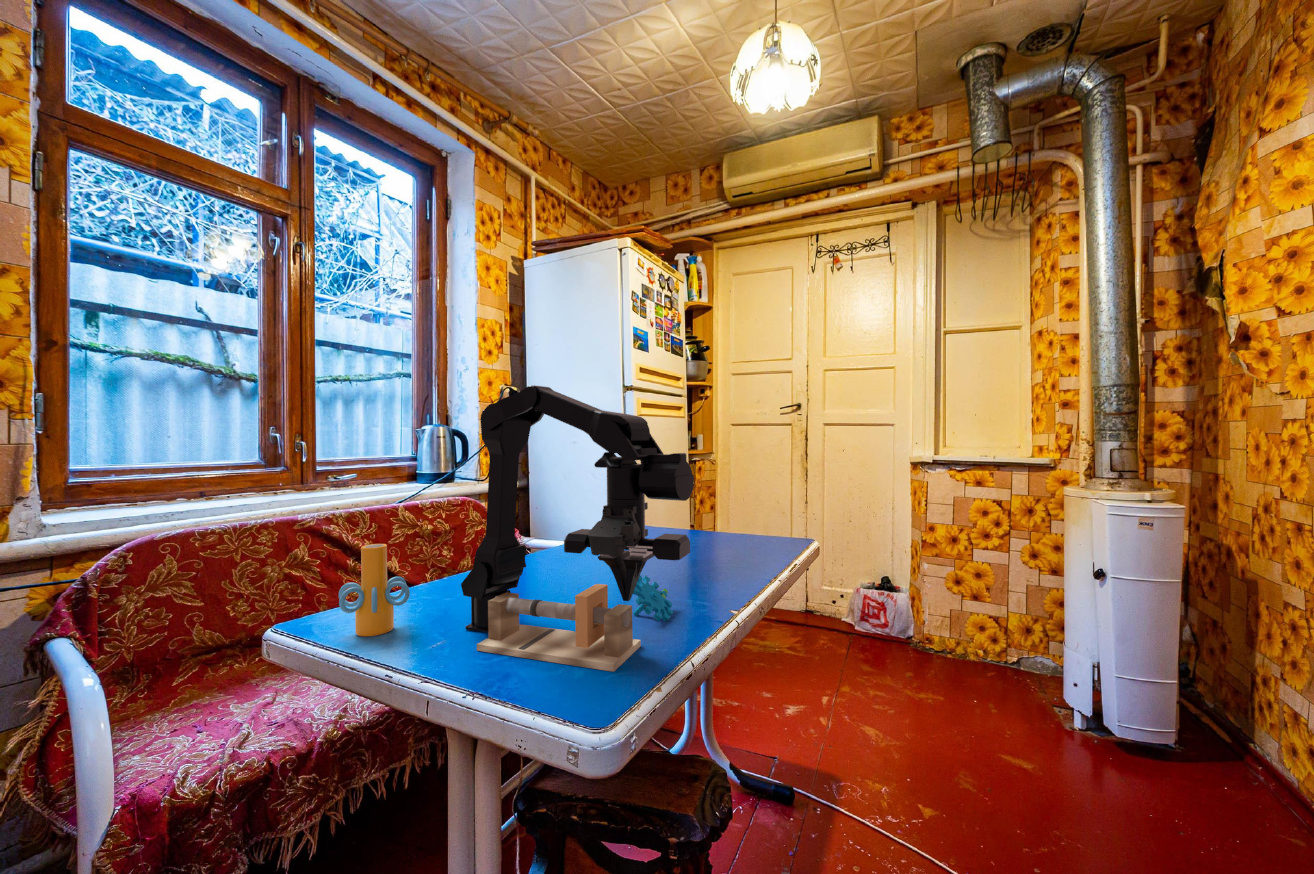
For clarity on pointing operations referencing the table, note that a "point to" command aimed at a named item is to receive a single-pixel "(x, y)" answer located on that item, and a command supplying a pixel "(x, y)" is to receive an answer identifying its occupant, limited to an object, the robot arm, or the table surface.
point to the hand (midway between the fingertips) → (626, 600)
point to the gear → (652, 599)
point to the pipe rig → (558, 633)
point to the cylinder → (373, 593)
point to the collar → (589, 614)
